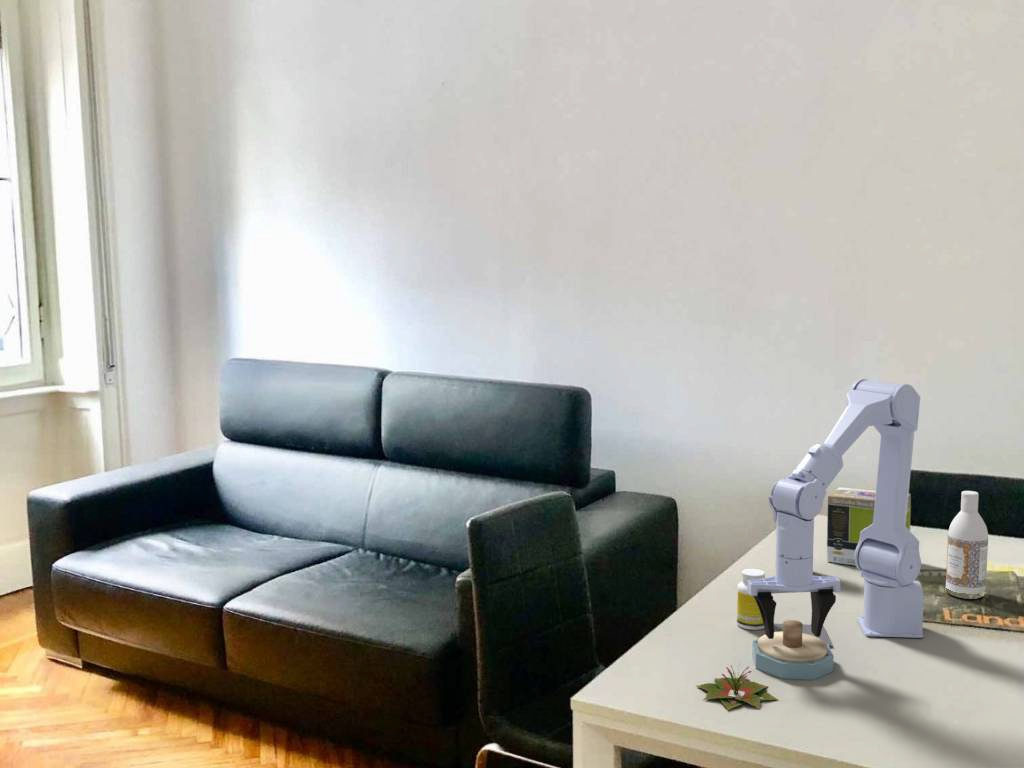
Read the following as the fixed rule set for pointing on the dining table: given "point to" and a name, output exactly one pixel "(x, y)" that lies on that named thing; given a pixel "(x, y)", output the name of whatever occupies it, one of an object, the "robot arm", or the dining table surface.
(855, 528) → the tea box
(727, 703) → the lily flower
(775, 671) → the bowl
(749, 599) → the supplement bottle
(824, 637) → the mat
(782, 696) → the dining table surface
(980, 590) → the bath foam
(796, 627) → the lid
